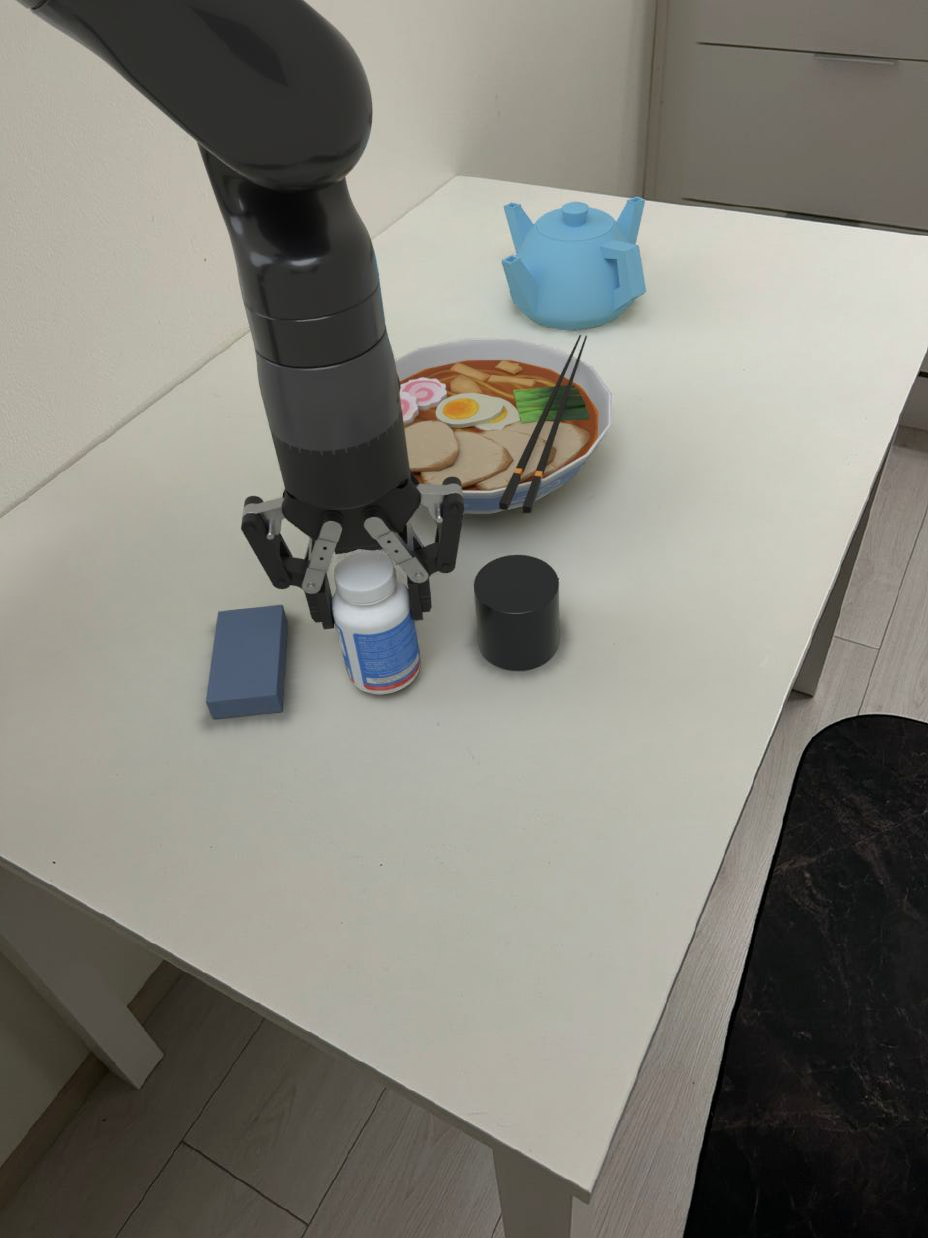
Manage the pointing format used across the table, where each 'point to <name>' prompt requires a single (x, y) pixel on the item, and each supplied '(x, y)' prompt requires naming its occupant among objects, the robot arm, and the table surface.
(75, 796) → the table surface
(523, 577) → the black cylinder
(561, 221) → the teapot
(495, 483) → the ramen bowl
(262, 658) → the blue rectangular block
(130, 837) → the table surface
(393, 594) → the pill bottle
